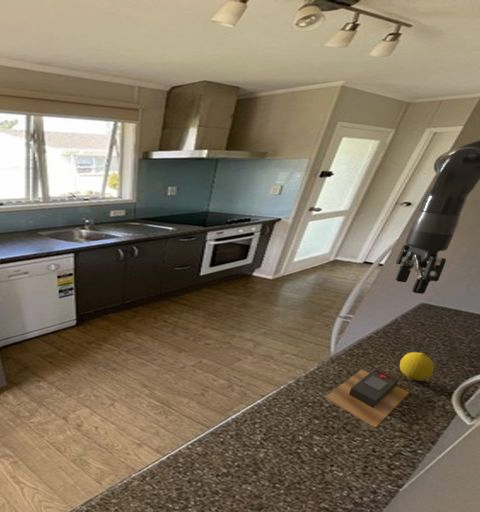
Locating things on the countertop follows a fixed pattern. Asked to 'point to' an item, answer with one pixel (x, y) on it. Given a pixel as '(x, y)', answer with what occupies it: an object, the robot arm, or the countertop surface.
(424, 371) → the lemon
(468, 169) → the robot arm
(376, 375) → the remote
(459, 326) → the countertop surface
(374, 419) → the placemat
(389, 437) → the countertop surface
